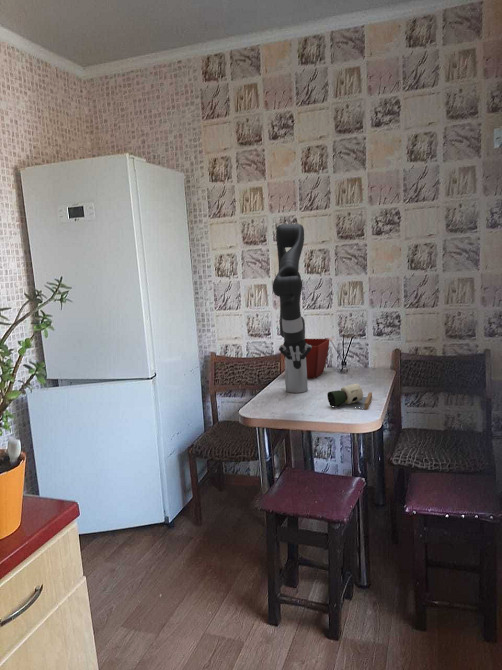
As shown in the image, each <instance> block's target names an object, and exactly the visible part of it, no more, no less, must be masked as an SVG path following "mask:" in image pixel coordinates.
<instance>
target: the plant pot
mask: <svg viewBox="0 0 502 670" xmlns="http://www.w3.org/2000/svg"><path fill="white" fill-rule="evenodd" d="M305 341H306V343H307V344H308V345H312V348H311V351H310V352H309V353H308V354H307V356H306V366H307V379H316V378H317V377H318V376H321V375H322V374H323V373H324V371H325V367H326V363H327V360H328V354H329V347H330V339H329V338H305ZM283 358H284V360H285V356H284V355H283Z"/></svg>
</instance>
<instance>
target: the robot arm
mask: <svg viewBox="0 0 502 670" xmlns="http://www.w3.org/2000/svg"><path fill="white" fill-rule="evenodd" d="M275 236H276V237H275V238H276V240H275V241H276V247H277V257H278V258H277V259H278V261H277V262H278V272H277V274H276V275H275V277H274V280H273V281H272V293H274V295H275V296H277V297H279V306H280V307H279V333H280V336H281V337H282V338H283V340H284V342H283V344H281V345H280V346H279V349H278V351H279V352H280V353H281V354H282V355H283V357H284V356H285V359H284V362H285V370H284V384H285V392H286V393H292V394H296V393H298V394H299V393H305V392H308V390H309V386H308V385H309V384H308V378H307V366H306V356H307V354H308V353H309V352H310V351H311V348H312V345H308V344H307V343H306V341H305V339H306V324H305V318H304V317H303V316H302V313H301V296H302V290H303V280H302V279H301V278H302V277H301V273H300V272H299V270H300V268H299V267H300V258H301V255H302V251H303V247H304V245H305V244H304V243H305V228H304V226H303V225H302V224H300V223H285V224H283V223H282V224H278V225H277V227H276V232H275ZM286 248H289V249H288V250H286Z"/></svg>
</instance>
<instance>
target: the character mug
mask: <svg viewBox="0 0 502 670" xmlns="http://www.w3.org/2000/svg"><path fill="white" fill-rule="evenodd" d="M326 395H327V400H328V404H329V406H330V407H331V408H333V407H332V406H334V408H336V407H337V406H339V405H341V404H343V403H344V402H345V403H346V404H351V403H354V402H358V401H361V400H362V399H363V397H364V392H363V389H362V387H361V385H360V384H359V383H352V384H349V385H345V386H342V387H341V388H340V389H339V390H338V389H337V390H333V391H328V392H327V393H326Z"/></svg>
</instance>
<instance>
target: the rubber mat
mask: <svg viewBox="0 0 502 670" xmlns="http://www.w3.org/2000/svg"><path fill="white" fill-rule="evenodd" d="M372 400H373V392H371V391H370V392H368V394H367V396H365V397H364V396H363V399H362V400H361V401H358V402H354V403H351V404H346V403H345V402H344V403H343V404H341V405H339V406H336V407H335V409H336V408H355V407H356V408H359V407H360V408H359V409H358V410H369V408H370V405H371V402H372ZM368 407H369V408H368ZM362 408H363V409H362Z"/></svg>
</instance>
